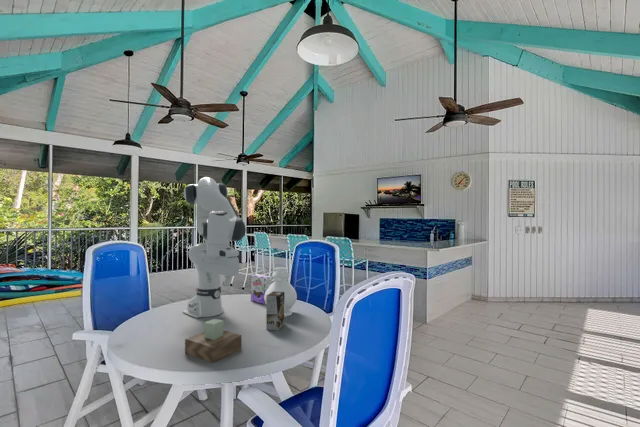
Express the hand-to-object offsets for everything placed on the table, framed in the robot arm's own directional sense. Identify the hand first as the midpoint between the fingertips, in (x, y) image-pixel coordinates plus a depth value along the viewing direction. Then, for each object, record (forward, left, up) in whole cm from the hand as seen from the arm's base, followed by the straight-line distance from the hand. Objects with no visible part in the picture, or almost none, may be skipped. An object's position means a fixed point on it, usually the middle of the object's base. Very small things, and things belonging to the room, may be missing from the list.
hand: (217, 284), depth 128 cm
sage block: (+2, -3, -20) cm, 20 cm away
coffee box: (+7, +31, -26) cm, 41 cm away
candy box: (-28, +63, -26) cm, 73 cm away
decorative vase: (-3, +49, -26) cm, 55 cm away
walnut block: (+2, -3, -26) cm, 26 cm away
